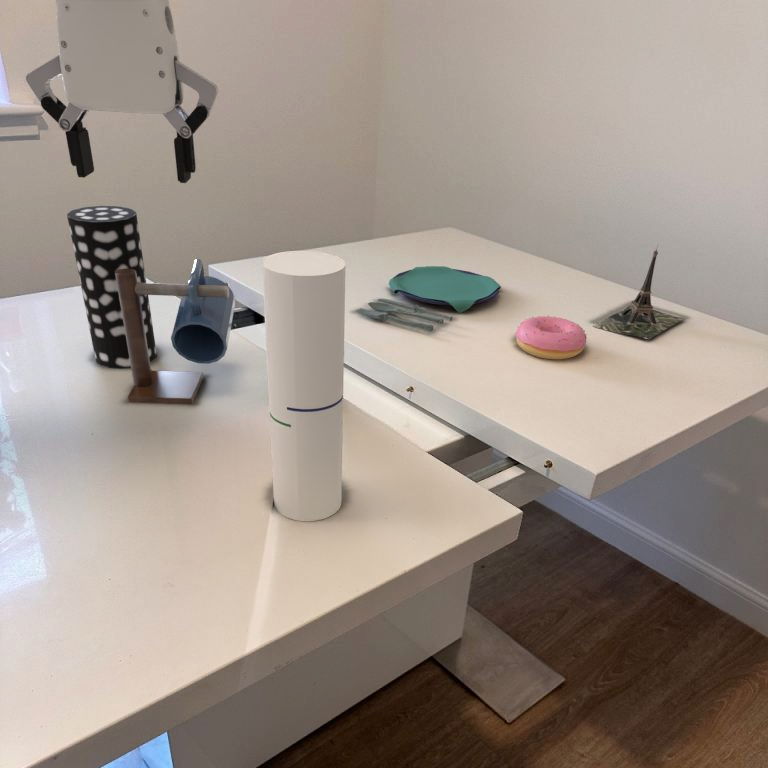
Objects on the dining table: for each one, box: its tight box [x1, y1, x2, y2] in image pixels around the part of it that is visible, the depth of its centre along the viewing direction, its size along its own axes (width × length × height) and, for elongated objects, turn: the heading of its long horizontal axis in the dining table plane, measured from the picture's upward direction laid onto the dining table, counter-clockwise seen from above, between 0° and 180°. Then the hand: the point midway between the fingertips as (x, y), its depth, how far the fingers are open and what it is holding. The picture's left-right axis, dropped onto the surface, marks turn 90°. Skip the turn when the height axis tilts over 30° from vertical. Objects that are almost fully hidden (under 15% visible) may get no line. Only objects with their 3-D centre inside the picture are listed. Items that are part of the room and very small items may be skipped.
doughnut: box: [515, 315, 588, 360], centre depth 112 cm, size 11×11×4 cm
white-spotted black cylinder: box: [66, 205, 158, 370], centre depth 97 cm, size 8×8×20 cm
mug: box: [170, 258, 236, 365], centre depth 91 cm, size 11×7×9 cm
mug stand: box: [115, 269, 230, 405], centre depth 90 cm, size 13×8×16 cm, turn 91°
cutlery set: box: [355, 265, 502, 332], centre depth 128 cm, size 20×30×2 cm, turn 148°
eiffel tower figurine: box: [592, 244, 686, 340], centre depth 121 cm, size 15×10×13 cm
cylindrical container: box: [261, 250, 346, 522], centre depth 69 cm, size 7×7×25 cm
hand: (135, 177), depth 71 cm, fingers open, 9 cm apart
